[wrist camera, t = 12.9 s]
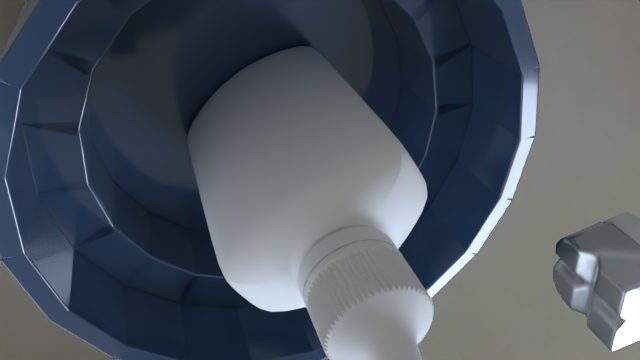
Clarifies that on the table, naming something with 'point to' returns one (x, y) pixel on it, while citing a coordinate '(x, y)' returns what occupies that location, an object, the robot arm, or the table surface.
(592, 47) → the table surface
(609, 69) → the table surface
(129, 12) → the blue bowl
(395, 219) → the eye dropper bottle
